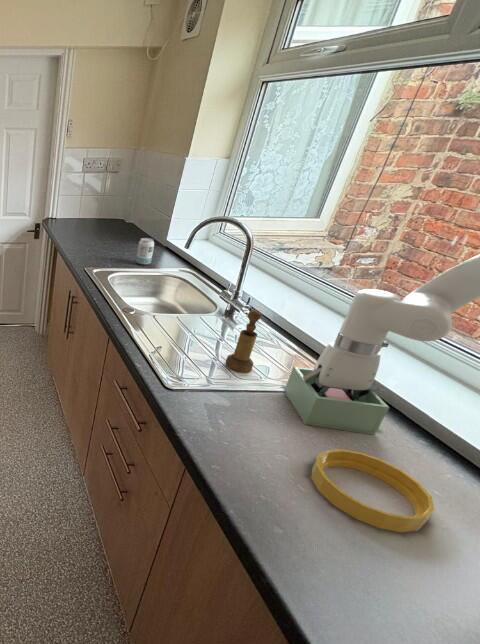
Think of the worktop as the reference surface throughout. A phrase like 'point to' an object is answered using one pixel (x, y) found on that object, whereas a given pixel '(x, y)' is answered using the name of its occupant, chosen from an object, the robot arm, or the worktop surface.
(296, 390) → the bin
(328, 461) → the yellow bangle
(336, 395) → the pink toy cube
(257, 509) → the worktop surface
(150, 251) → the beverage can
